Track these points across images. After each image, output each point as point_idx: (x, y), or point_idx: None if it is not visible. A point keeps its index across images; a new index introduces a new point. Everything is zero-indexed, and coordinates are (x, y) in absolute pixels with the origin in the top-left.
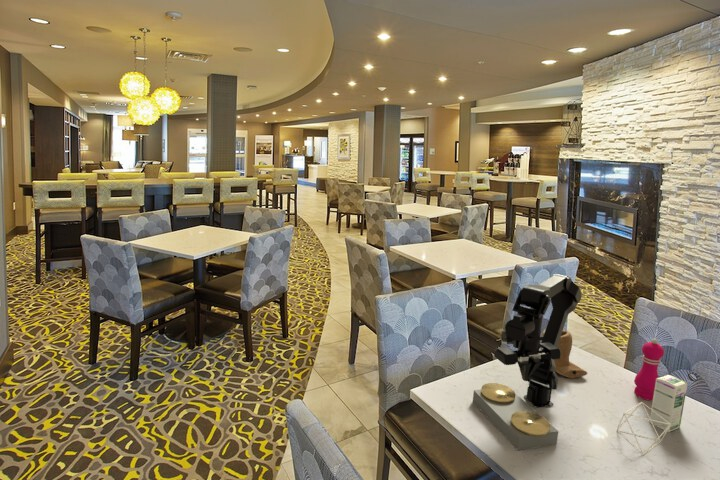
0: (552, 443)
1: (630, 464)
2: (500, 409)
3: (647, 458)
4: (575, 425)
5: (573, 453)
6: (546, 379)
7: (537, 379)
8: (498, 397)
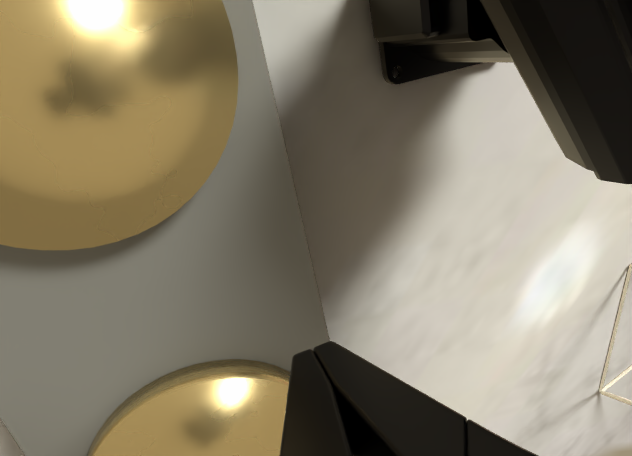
0: None
1: (526, 447)
2: (30, 327)
3: (597, 404)
4: (497, 248)
5: None
6: (602, 178)
7: (529, 90)
8: (20, 206)
